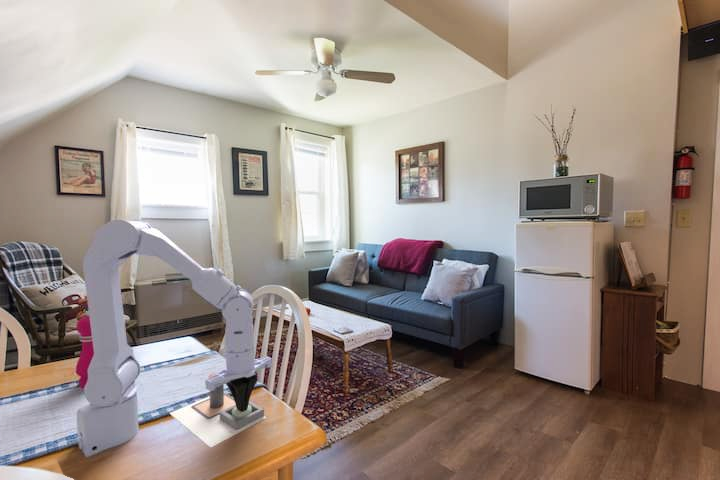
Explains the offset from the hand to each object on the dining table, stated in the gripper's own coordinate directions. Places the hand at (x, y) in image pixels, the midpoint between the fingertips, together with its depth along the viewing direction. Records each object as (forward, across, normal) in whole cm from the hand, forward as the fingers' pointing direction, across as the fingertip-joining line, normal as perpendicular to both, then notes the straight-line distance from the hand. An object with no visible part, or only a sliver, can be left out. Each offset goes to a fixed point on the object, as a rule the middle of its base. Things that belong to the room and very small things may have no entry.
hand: (242, 409), depth 73 cm
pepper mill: (+3, -15, +48) cm, 50 cm away
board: (+3, -3, +5) cm, 6 cm away
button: (+2, 0, 0) cm, 2 cm away
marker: (+2, -1, +9) cm, 9 cm away
